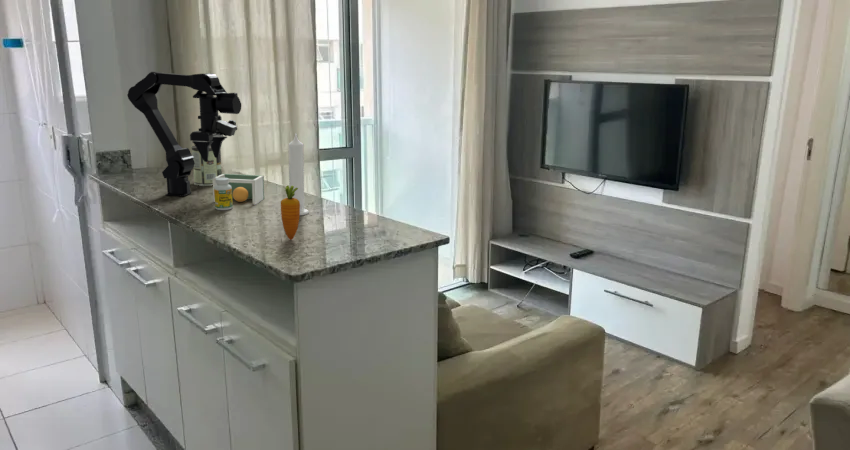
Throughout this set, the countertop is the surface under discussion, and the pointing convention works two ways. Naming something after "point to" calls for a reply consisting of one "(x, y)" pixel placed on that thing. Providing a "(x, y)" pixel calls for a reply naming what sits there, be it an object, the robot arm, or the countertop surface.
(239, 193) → the ball
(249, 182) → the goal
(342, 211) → the countertop surface
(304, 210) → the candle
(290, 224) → the carrot
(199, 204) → the countertop surface
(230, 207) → the supplement bottle
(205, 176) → the coffee can
